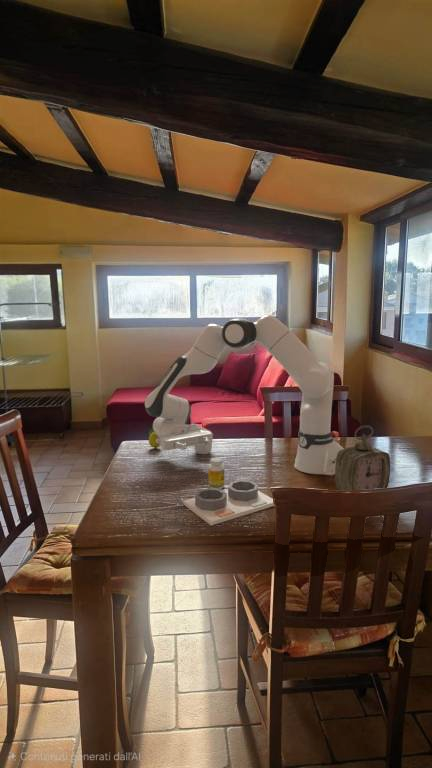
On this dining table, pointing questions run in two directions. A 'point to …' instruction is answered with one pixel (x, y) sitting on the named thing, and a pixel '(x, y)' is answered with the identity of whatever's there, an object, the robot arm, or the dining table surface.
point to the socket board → (228, 502)
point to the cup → (203, 448)
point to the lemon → (153, 439)
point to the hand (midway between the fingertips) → (196, 445)
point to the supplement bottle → (216, 473)
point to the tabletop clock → (362, 466)
